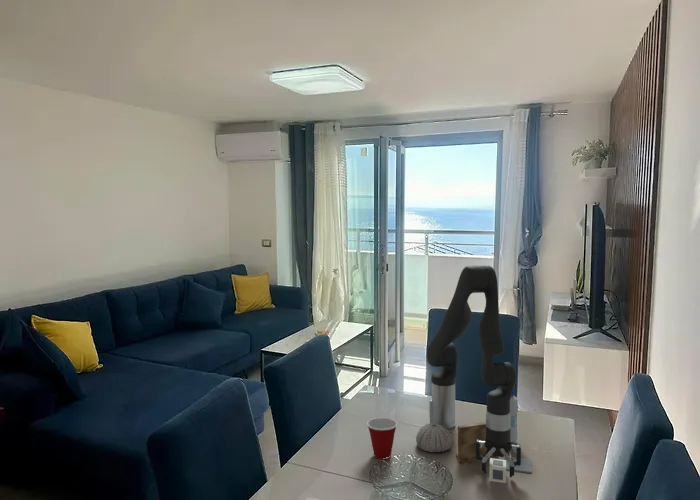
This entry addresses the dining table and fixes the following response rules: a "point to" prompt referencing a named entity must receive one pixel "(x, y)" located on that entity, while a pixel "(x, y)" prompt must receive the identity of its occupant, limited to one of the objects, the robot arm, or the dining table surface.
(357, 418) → the dining table surface
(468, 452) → the walnut screen
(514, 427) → the bottle
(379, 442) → the plastic cup
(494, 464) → the white marker cube
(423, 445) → the sea urchin shell
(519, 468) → the slate coaster
